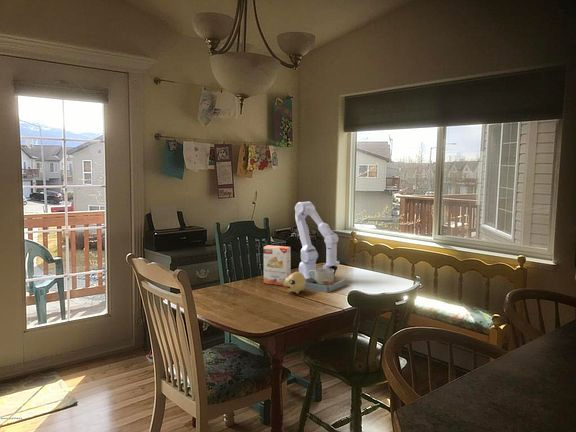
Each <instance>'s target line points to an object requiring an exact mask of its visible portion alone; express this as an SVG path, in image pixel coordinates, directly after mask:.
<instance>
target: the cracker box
mask: <svg viewBox="0 0 576 432" xmlns="http://www.w3.org/2000/svg"><path fill="white" fill-rule="evenodd" d="M291 251H292V250H291V246H283V245H282V246H281V245H271V244H270V245H269V244H267V245H265V246H263V284H264V283H266V284H265V285H272V284H274V285H273V286H282V287H285V286H284V284H283V279H285V278H286V277H289V276H290V275H291V274H292V272H291V267H292V264H291V263H292V262H291V261H292V260H291V257H292V255H291Z"/></svg>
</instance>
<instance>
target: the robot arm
mask: <svg viewBox="0 0 576 432" xmlns="http://www.w3.org/2000/svg"><path fill="white" fill-rule="evenodd" d="M294 211H295V213H294V216H295V217H294V219H295V223H296V226H297V227H296V228H297V230H298V235H299V239H300V243H301V246H302V248H301V249H300V260H301V261H300V262H299V265H298V272H300V273H301V274H303V276H304V277H305V279H306V278H309V277H310V276H309V271H310V270H314V271H315V269H317V268H316V267H317V265H316V264H317V260H318V258H319V253H318V251H317V249H316V247H315V246H314V245H313V244H312V240H311V237H310V234H309V233H310V232H309V229H308V225H307V221H306V218H307V217H308V216H309V217H311V219H312V220H313V221H314V223H315V224H316V225H317V230H318V231H319V232H320V233H319V234H321V236H322V237H323V238H324V239H323V240H324V241H323V242H324V243H325V247H326V252H325V253H326V255H325V257H326V260H325V262H326V263H325V264H323V265H322V268H323V269H327V268H331V269H334V276H335V274H336V272H337V269H338V266H339V265H340V260H338V258H337V256H338V255H337V254H338V253H337V252H338V251H337V250H338V243H339V240H340V239H339V235H338V234H337V233H336V232H334V231H332V228H331V227H330V224H328V223H326V222H324V221H323V220H322V218H321V217H320V215H319V213H318V211H317V210H316V206H315V205H314V204H313V202H311V201H309V200H308V201H299V202H297V203H296V204H295V206H294ZM310 274H311V276H315V275H314V272H311V273H310Z"/></svg>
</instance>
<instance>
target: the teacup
mask: <svg viewBox="0 0 576 432" xmlns="http://www.w3.org/2000/svg"><path fill="white" fill-rule="evenodd" d="M311 272H314V275H315V277H313V276H311V274H310V273H311ZM309 276H310V277H311V278H313V279H314V280H315V282H316V284H318V285H323V280H325V279H330V280H333V281H334V280H335V275H334V269H331V268H327V269H323V267H317V268H316V269H315V271H314V270H310V271H309Z"/></svg>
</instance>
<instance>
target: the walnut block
mask: <svg viewBox="0 0 576 432" xmlns="http://www.w3.org/2000/svg"><path fill="white" fill-rule="evenodd" d="M332 284H334V280H330V279H325V280H323V285H324V286H329V285H332Z"/></svg>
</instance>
